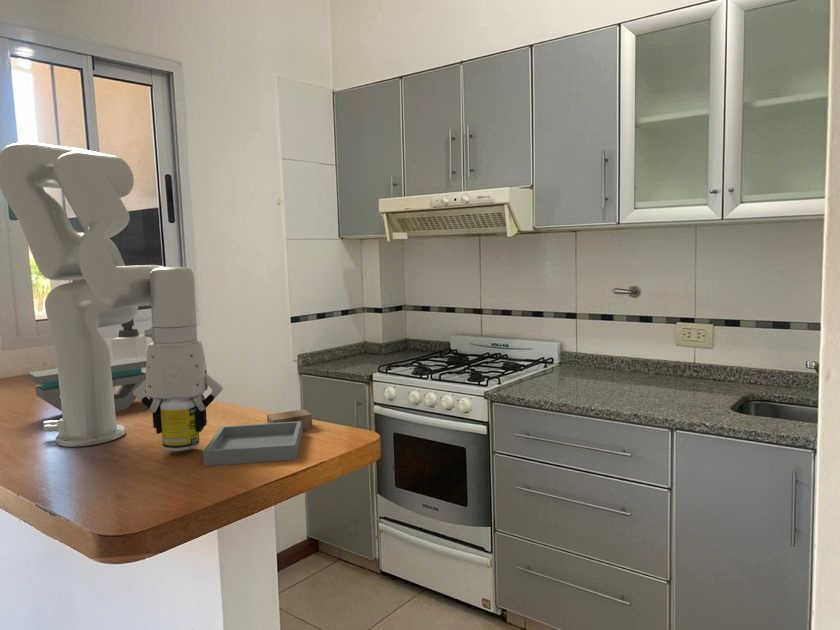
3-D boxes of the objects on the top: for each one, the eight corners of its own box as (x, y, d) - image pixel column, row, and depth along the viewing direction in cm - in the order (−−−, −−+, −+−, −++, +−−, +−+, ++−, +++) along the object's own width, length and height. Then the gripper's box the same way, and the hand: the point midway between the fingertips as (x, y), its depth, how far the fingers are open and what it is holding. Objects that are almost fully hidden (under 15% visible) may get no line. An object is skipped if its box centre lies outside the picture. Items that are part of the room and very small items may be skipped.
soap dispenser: (111, 394, 171) (104, 312, 169) (127, 387, 180) (120, 308, 178) (136, 393, 171) (128, 311, 169) (150, 386, 180) (143, 307, 178)
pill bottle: (187, 453, 116) (184, 390, 114) (155, 451, 117) (151, 388, 116) (206, 442, 122) (203, 382, 121) (175, 440, 123) (172, 380, 122)
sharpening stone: (40, 425, 143) (35, 376, 141) (33, 419, 148) (28, 372, 147) (155, 403, 159) (151, 360, 158) (144, 398, 165) (140, 356, 164)
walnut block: (273, 435, 128) (272, 420, 128) (267, 429, 133) (266, 414, 132) (312, 428, 132) (311, 414, 131) (305, 423, 136) (304, 409, 136)
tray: (204, 466, 111) (203, 451, 111) (221, 439, 127) (221, 426, 126) (295, 459, 113) (294, 445, 112) (302, 433, 128) (301, 421, 128)
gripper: (118, 339, 112) (124, 439, 115) (220, 337, 114) (224, 435, 117) (132, 333, 120) (138, 426, 122) (228, 330, 122) (232, 423, 124)
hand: (180, 429), depth 119 cm, fingers closed on pill bottle, 6 cm apart
